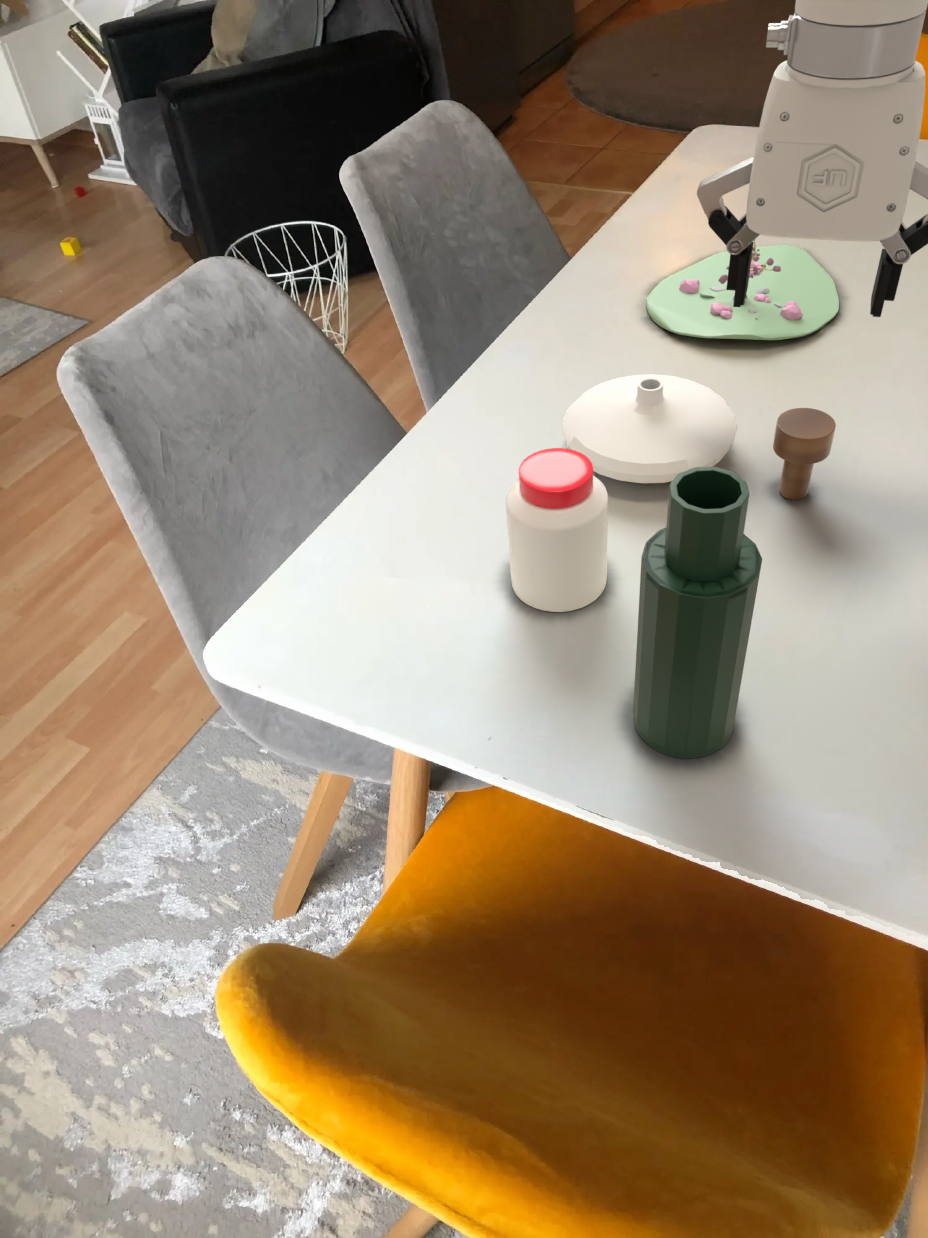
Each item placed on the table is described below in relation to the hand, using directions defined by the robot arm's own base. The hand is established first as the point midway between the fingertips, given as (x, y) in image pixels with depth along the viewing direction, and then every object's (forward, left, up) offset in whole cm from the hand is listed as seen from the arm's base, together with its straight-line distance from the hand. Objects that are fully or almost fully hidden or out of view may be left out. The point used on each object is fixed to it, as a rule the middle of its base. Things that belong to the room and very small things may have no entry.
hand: (806, 303), depth 71 cm
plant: (+30, -20, -18) cm, 41 cm away
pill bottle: (0, +22, -18) cm, 28 cm away
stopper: (-1, -1, -18) cm, 18 cm away
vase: (+11, +6, -18) cm, 22 cm away
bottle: (-17, +22, -18) cm, 32 cm away
